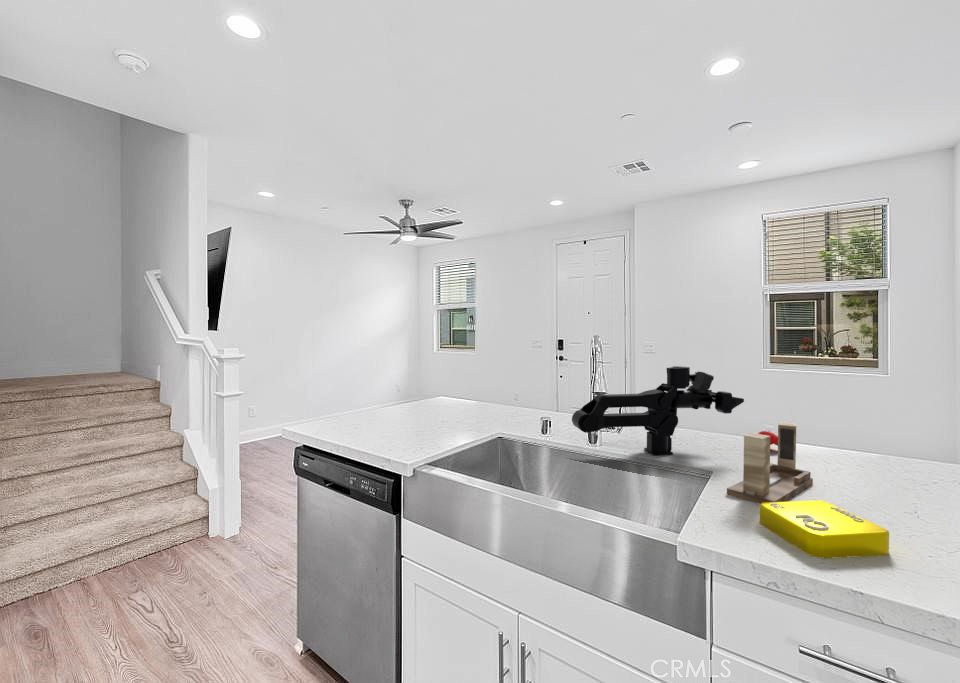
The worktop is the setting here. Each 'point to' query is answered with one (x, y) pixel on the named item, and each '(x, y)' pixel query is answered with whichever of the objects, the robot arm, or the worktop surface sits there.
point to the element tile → (824, 529)
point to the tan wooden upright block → (787, 444)
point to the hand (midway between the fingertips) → (733, 397)
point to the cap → (772, 437)
